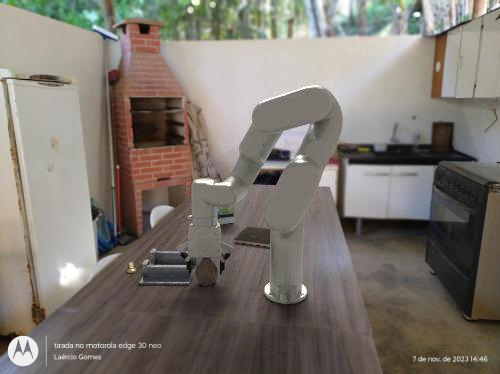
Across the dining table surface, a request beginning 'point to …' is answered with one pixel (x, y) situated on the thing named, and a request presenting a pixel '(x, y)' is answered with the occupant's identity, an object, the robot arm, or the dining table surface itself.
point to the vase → (206, 272)
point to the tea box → (225, 215)
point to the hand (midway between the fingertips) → (205, 272)
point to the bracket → (165, 269)
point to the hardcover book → (254, 236)
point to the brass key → (131, 268)
